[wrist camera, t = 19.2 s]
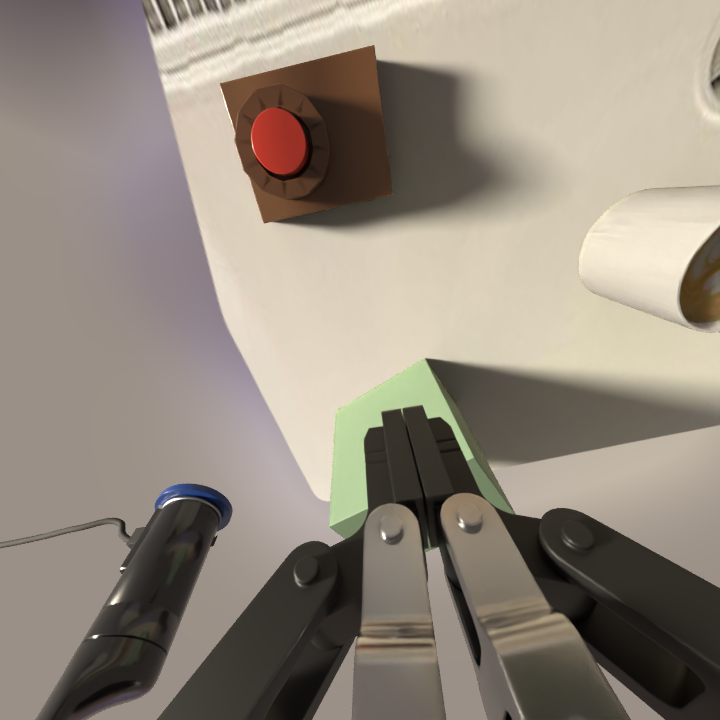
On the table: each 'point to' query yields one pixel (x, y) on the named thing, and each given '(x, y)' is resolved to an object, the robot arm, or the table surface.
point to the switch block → (316, 133)
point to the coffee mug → (659, 255)
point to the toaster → (366, 413)
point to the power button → (280, 142)
